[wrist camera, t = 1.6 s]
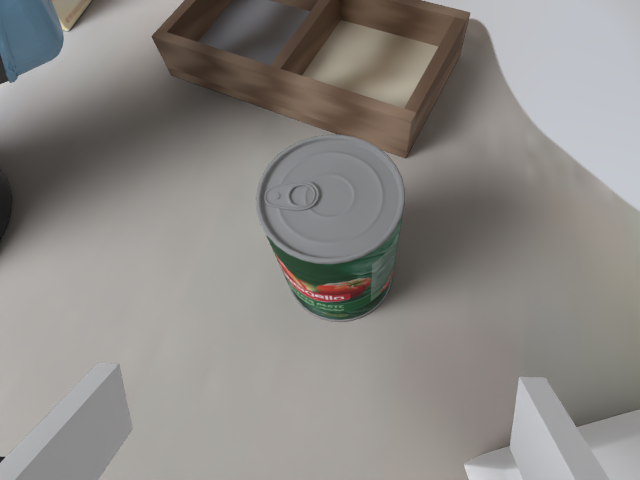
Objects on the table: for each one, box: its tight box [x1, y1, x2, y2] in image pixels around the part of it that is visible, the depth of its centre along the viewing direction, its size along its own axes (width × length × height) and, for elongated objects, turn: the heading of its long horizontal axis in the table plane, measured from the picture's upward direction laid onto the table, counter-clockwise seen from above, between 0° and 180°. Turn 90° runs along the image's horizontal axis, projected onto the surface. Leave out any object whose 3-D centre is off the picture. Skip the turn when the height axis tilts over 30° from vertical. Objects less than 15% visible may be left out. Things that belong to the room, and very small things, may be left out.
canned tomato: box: [256, 135, 405, 322], centre depth 28 cm, size 8×8×11 cm
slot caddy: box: [152, 0, 470, 158], centre depth 40 cm, size 25×13×4 cm, turn 63°
